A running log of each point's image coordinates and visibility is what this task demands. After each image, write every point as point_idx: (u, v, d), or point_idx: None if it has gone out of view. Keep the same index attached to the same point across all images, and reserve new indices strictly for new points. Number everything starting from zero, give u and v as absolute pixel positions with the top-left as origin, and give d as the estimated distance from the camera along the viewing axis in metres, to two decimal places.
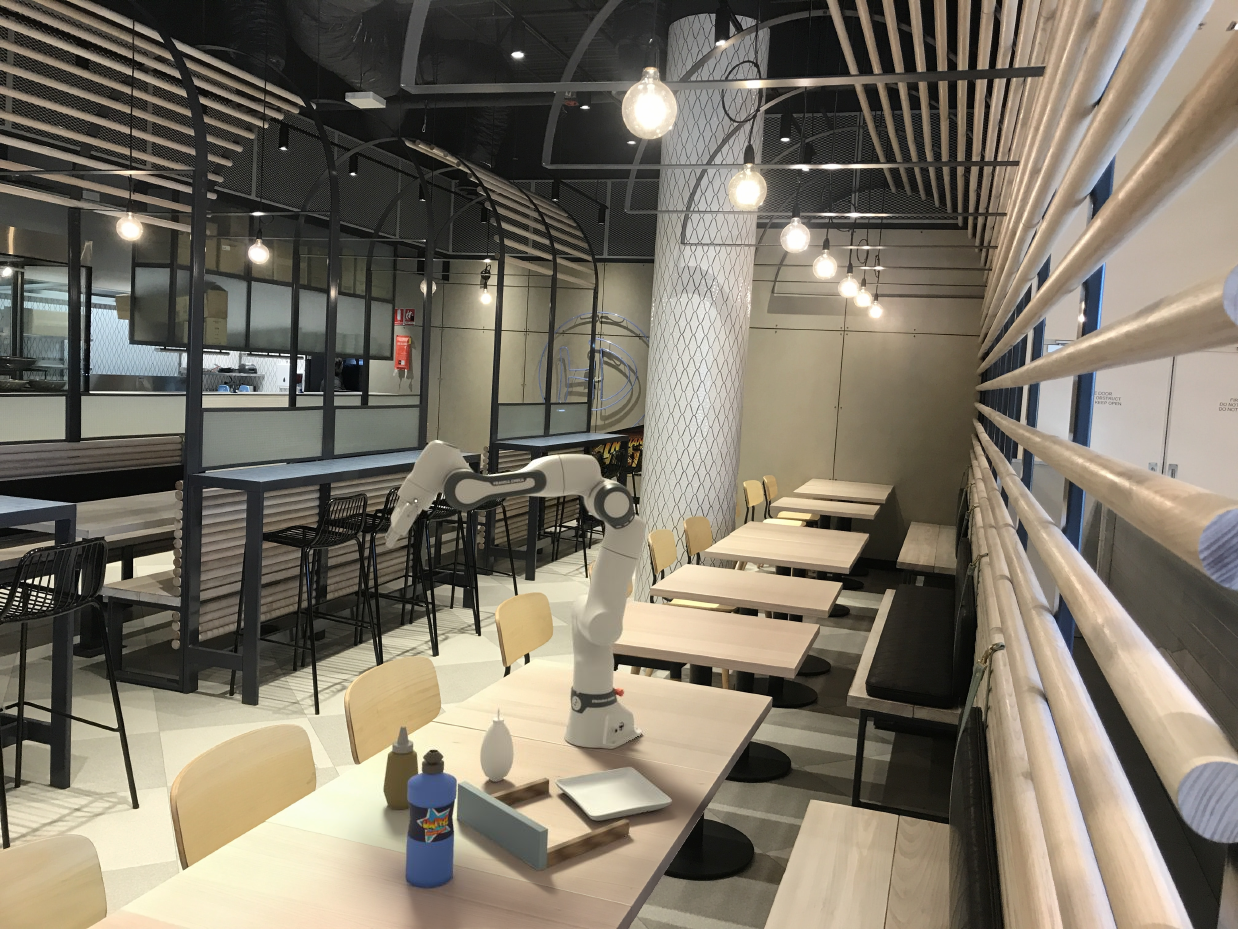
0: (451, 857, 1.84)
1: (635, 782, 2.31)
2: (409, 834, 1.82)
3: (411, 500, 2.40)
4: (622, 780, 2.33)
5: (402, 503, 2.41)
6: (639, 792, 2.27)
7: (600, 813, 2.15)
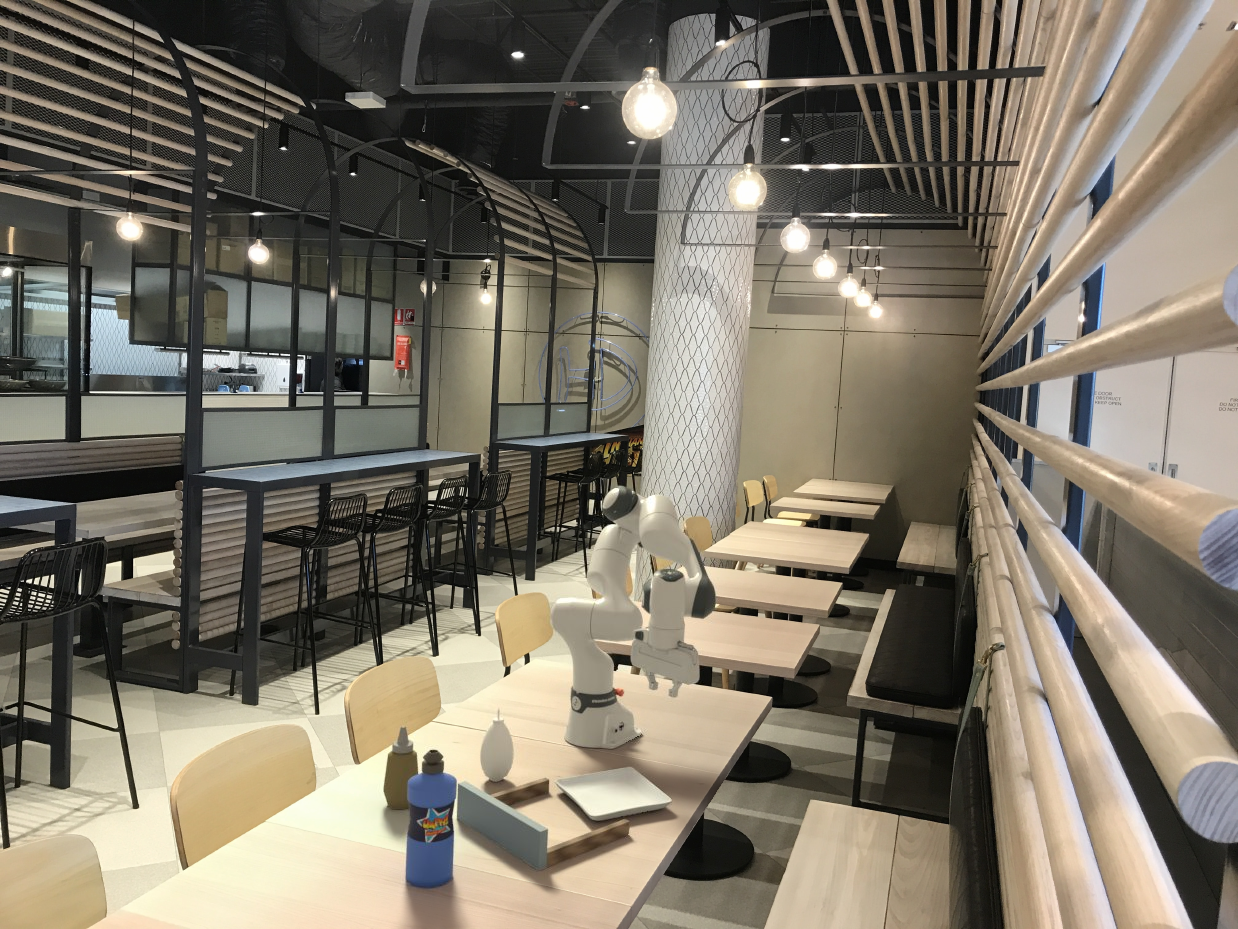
0: (451, 857, 1.84)
1: (635, 782, 2.31)
2: (409, 834, 1.82)
3: (676, 645, 2.27)
4: (622, 780, 2.33)
5: (666, 652, 2.28)
6: (639, 792, 2.27)
7: (600, 813, 2.15)
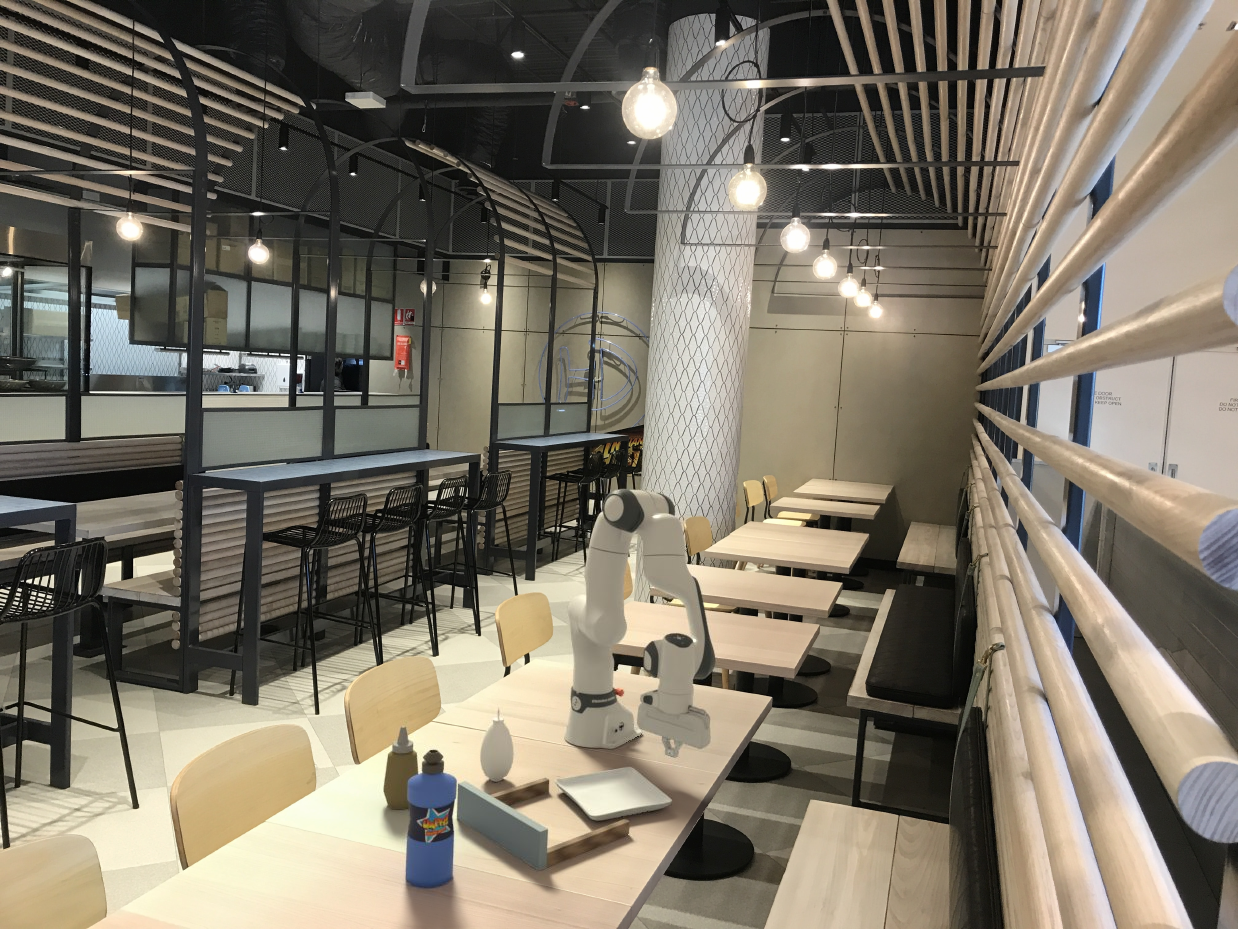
0: (451, 857, 1.84)
1: (635, 782, 2.31)
2: (409, 834, 1.82)
3: (687, 710, 2.31)
4: (622, 780, 2.33)
5: (676, 717, 2.31)
6: (639, 792, 2.27)
7: (600, 813, 2.15)
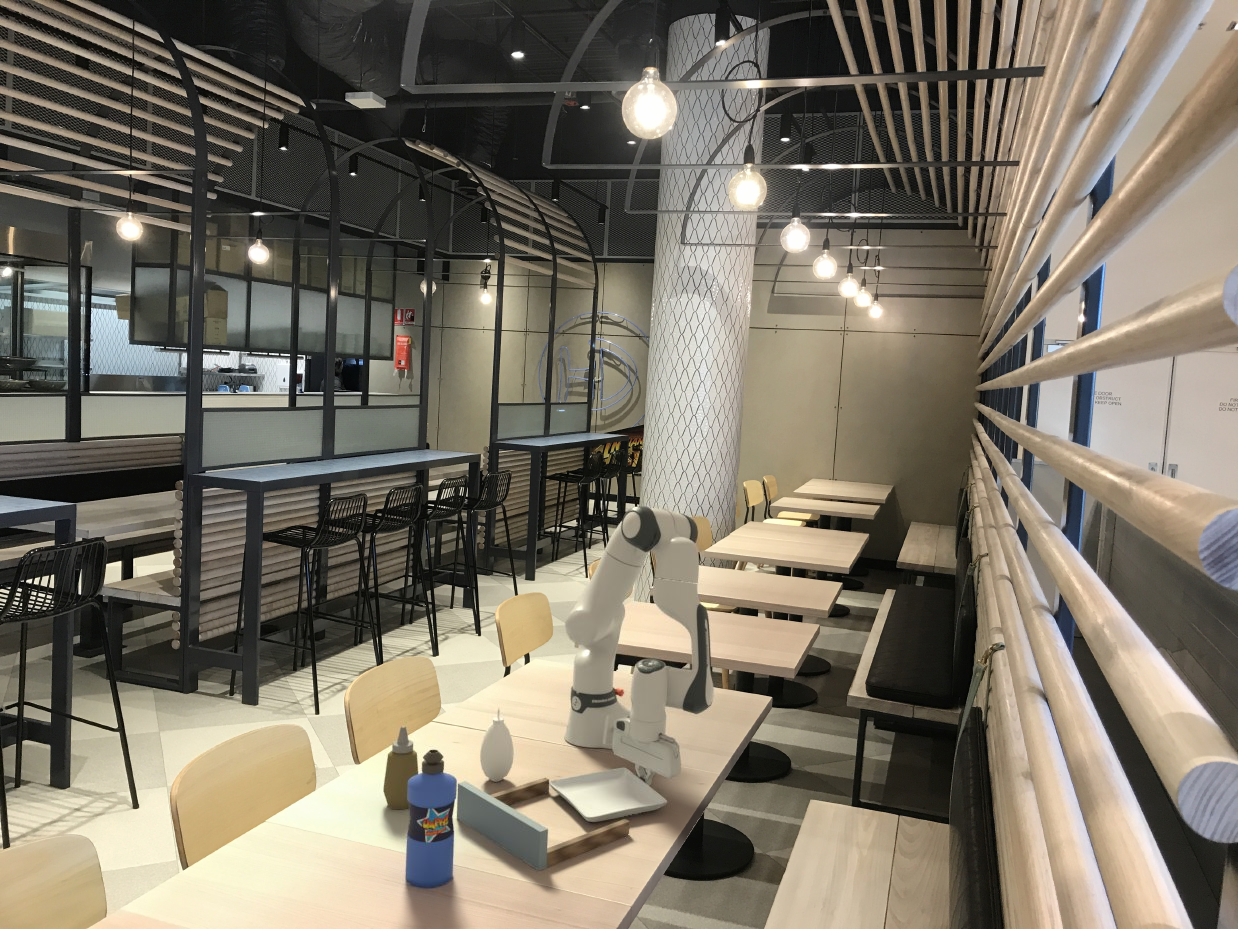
0: (451, 857, 1.84)
1: (630, 783, 2.30)
2: (409, 834, 1.82)
3: (657, 738, 2.25)
4: (616, 781, 2.32)
5: (647, 744, 2.26)
6: (634, 793, 2.26)
7: (595, 814, 2.14)
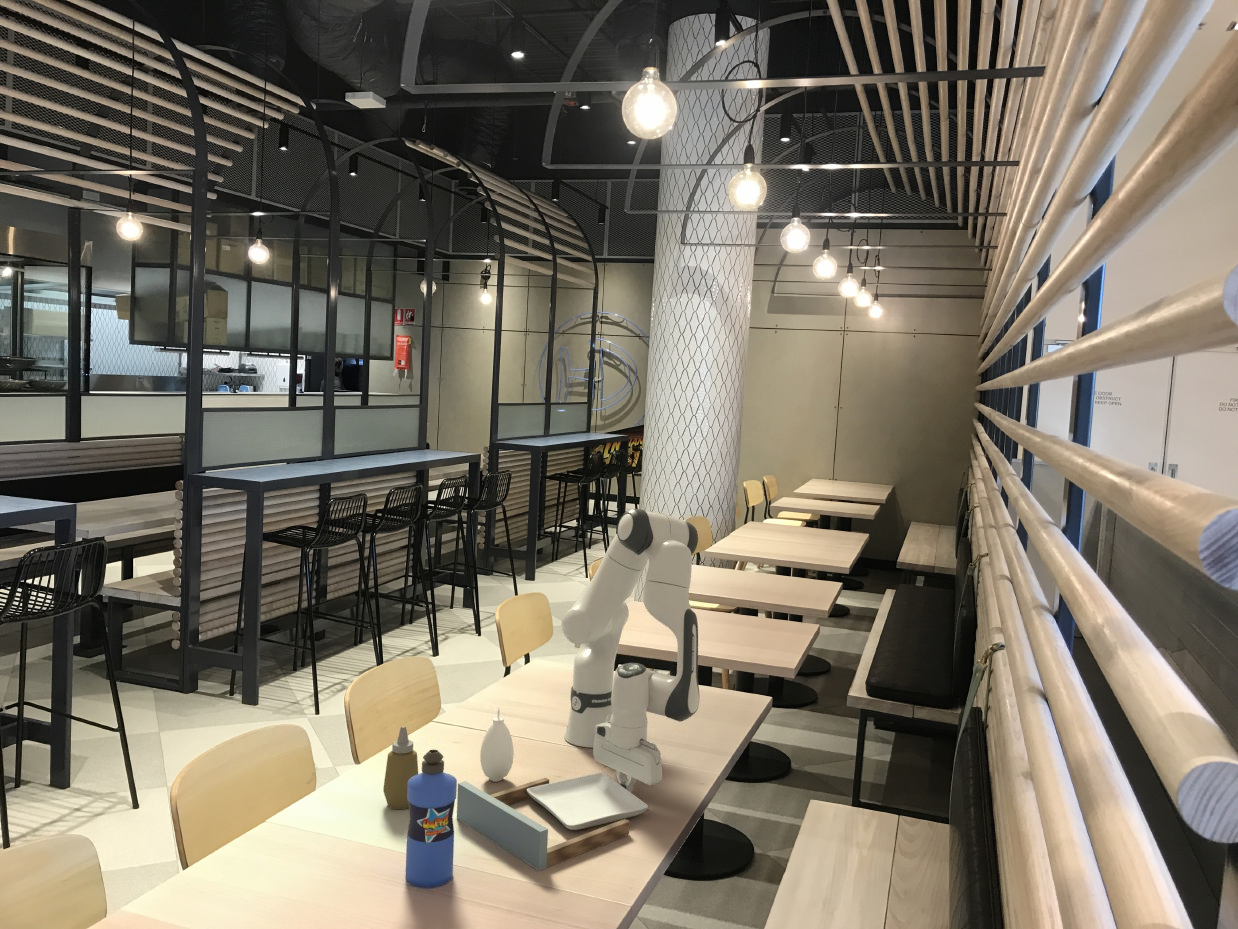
0: (451, 857, 1.84)
1: (608, 788, 2.26)
2: (409, 834, 1.82)
3: (638, 744, 2.21)
4: (594, 786, 2.28)
5: (628, 750, 2.21)
6: (613, 798, 2.22)
7: (576, 822, 2.10)
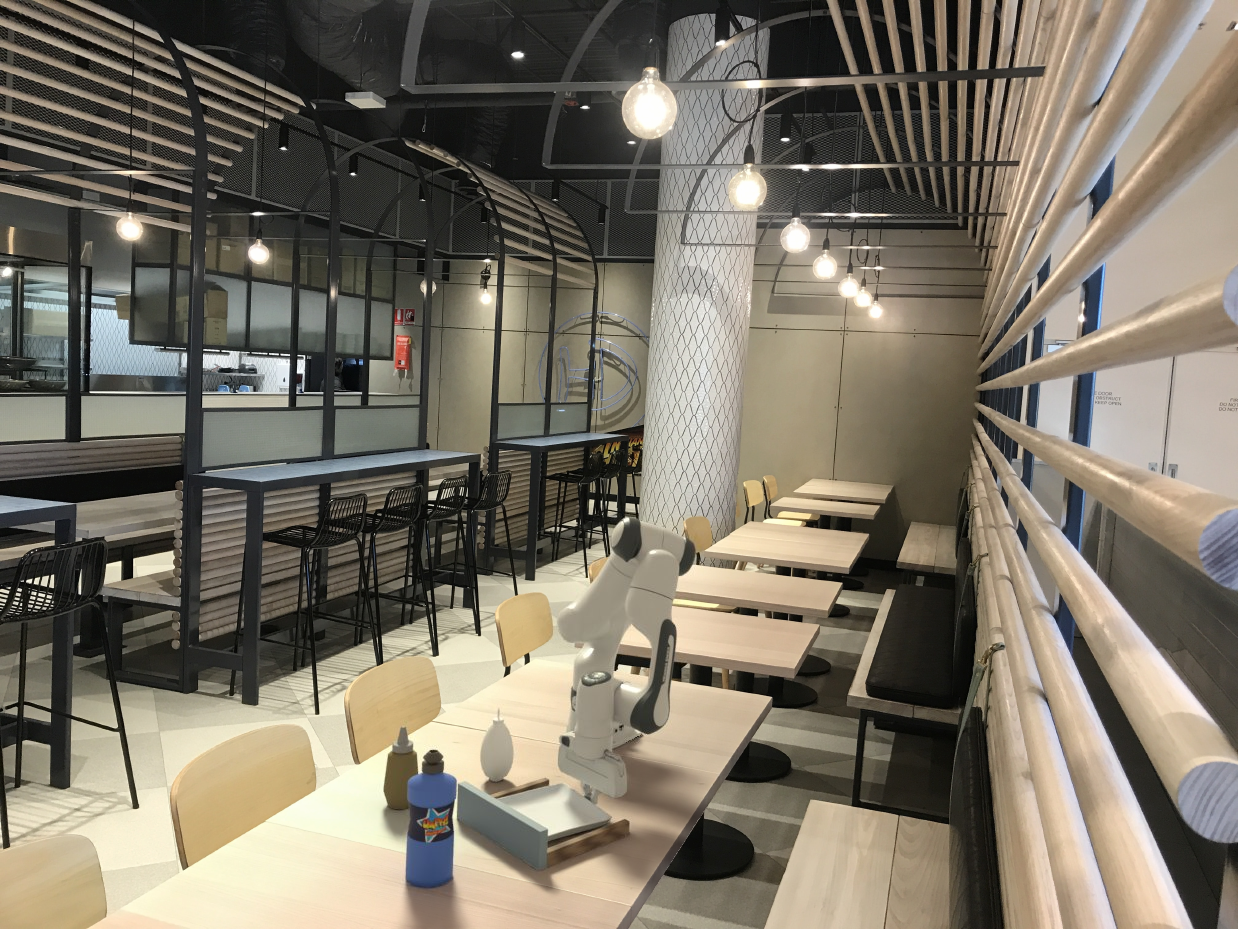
0: (451, 857, 1.84)
1: (569, 799, 2.20)
2: (409, 834, 1.82)
3: (603, 755, 2.13)
4: (555, 797, 2.21)
5: (592, 761, 2.14)
6: (574, 809, 2.16)
7: None
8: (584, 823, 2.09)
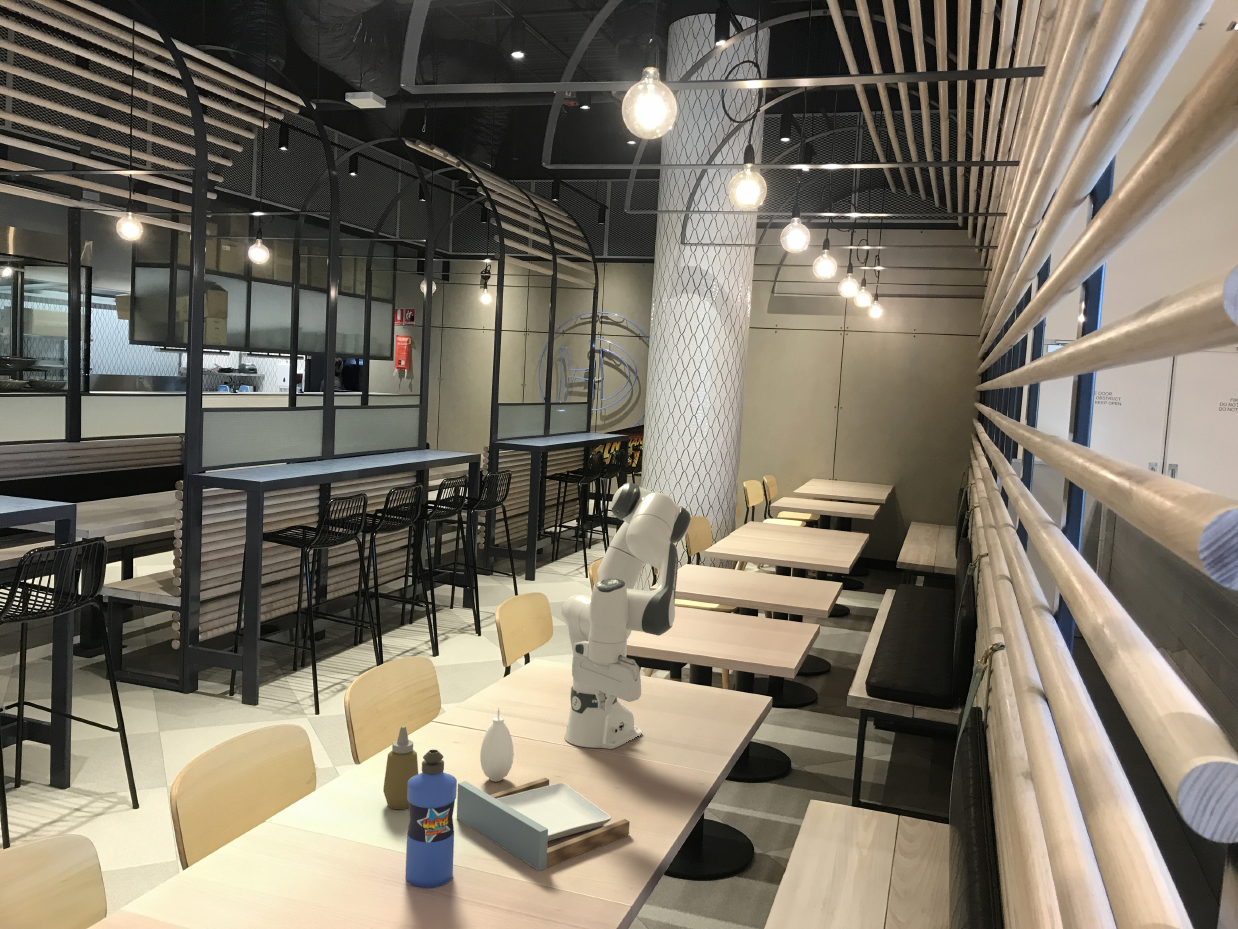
0: (451, 857, 1.84)
1: (569, 799, 2.20)
2: (409, 834, 1.82)
3: (617, 660, 2.14)
4: (555, 797, 2.21)
5: (606, 667, 2.15)
6: (574, 809, 2.16)
7: None
8: (584, 823, 2.09)
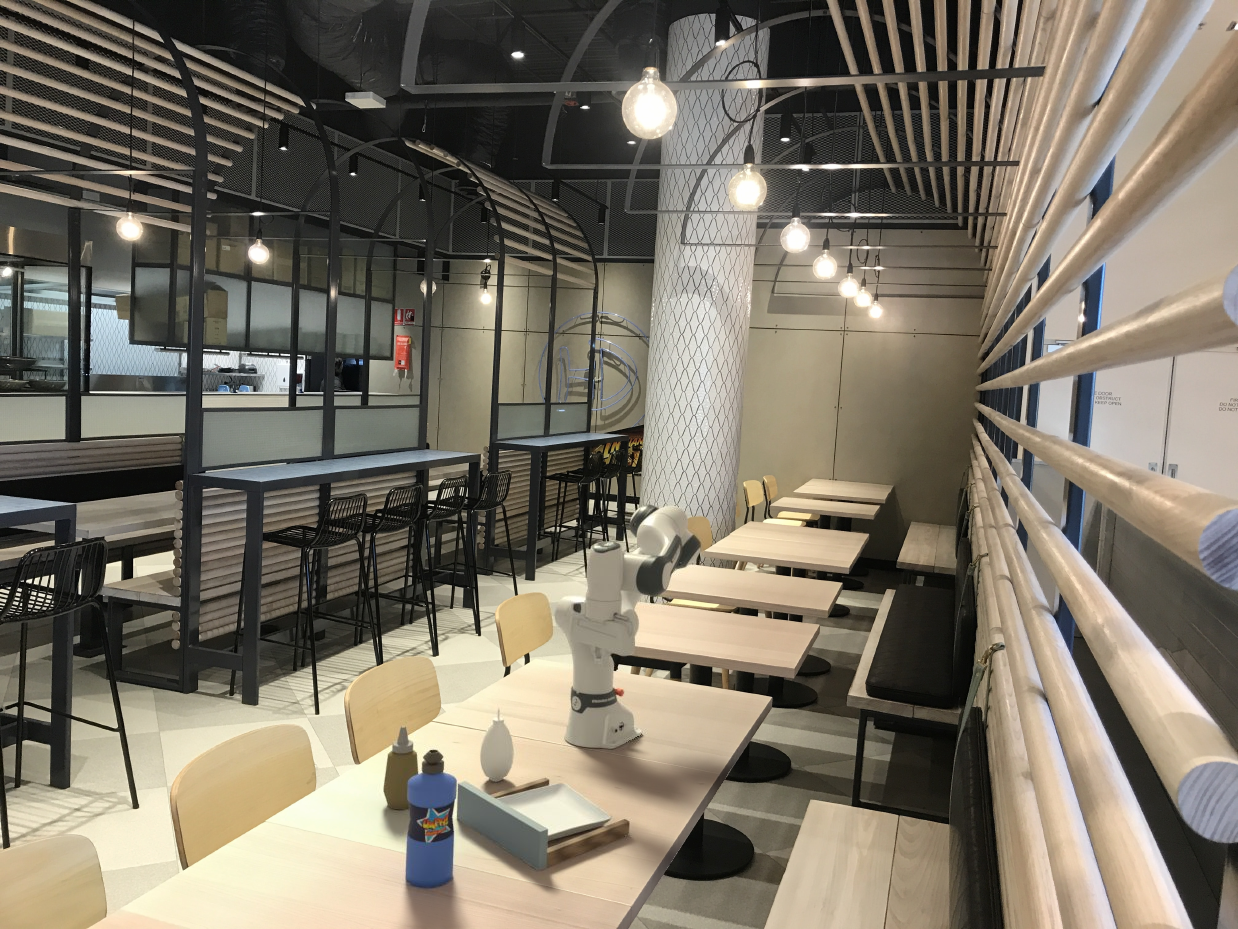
0: (451, 857, 1.84)
1: (569, 799, 2.20)
2: (409, 834, 1.82)
3: (612, 617, 2.27)
4: (555, 797, 2.21)
5: (602, 624, 2.28)
6: (574, 809, 2.16)
7: None
8: (584, 823, 2.09)
